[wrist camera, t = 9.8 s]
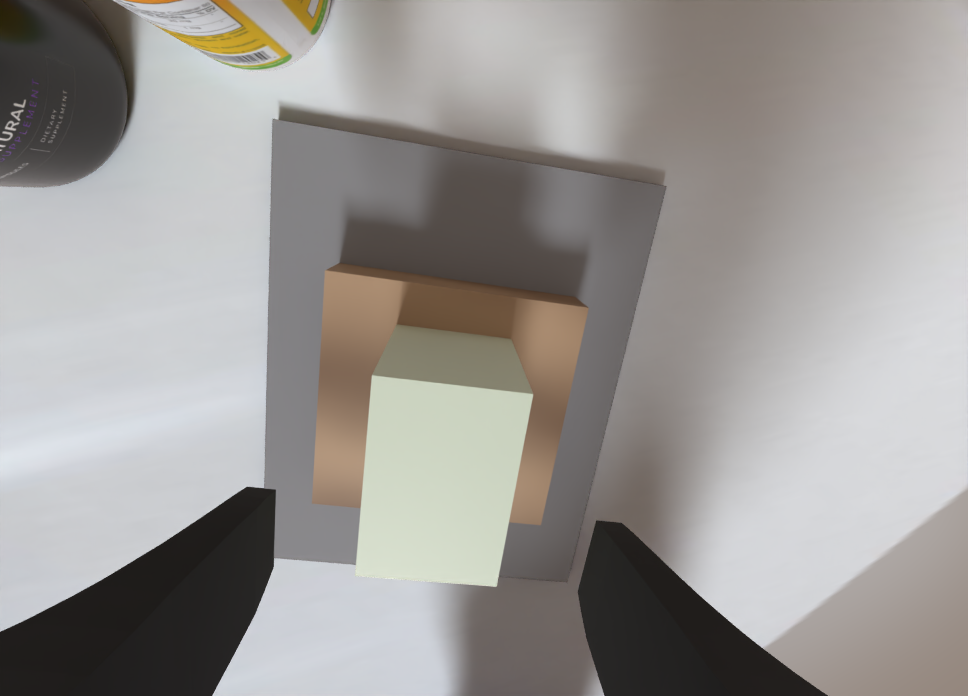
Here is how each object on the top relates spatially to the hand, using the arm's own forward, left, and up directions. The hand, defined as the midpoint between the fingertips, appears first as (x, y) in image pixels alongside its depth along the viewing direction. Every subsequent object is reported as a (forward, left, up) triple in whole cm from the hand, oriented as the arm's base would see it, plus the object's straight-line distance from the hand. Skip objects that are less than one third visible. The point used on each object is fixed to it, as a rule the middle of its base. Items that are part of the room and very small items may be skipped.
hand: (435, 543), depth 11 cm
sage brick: (0, 0, -7) cm, 7 cm away
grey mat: (0, 0, -10) cm, 10 cm away
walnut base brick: (0, 0, -10) cm, 10 cm away
